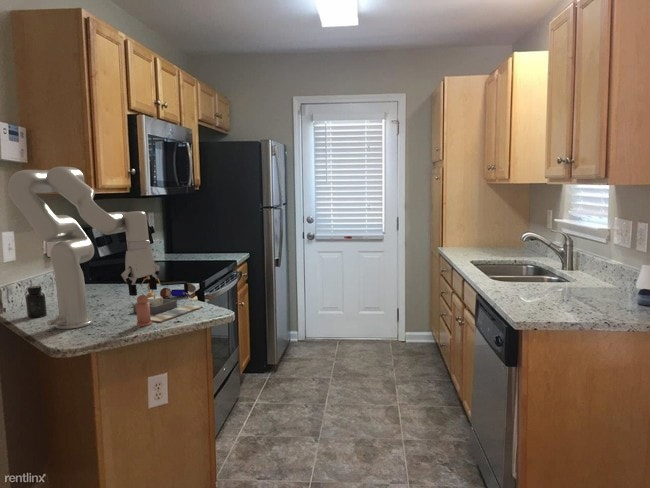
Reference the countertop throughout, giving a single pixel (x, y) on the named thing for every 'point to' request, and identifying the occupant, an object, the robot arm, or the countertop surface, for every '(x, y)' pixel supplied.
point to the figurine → (149, 288)
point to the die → (155, 301)
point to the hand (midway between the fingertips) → (143, 292)
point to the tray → (161, 306)
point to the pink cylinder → (143, 311)
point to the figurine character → (181, 292)
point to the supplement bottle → (35, 302)
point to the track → (174, 313)
